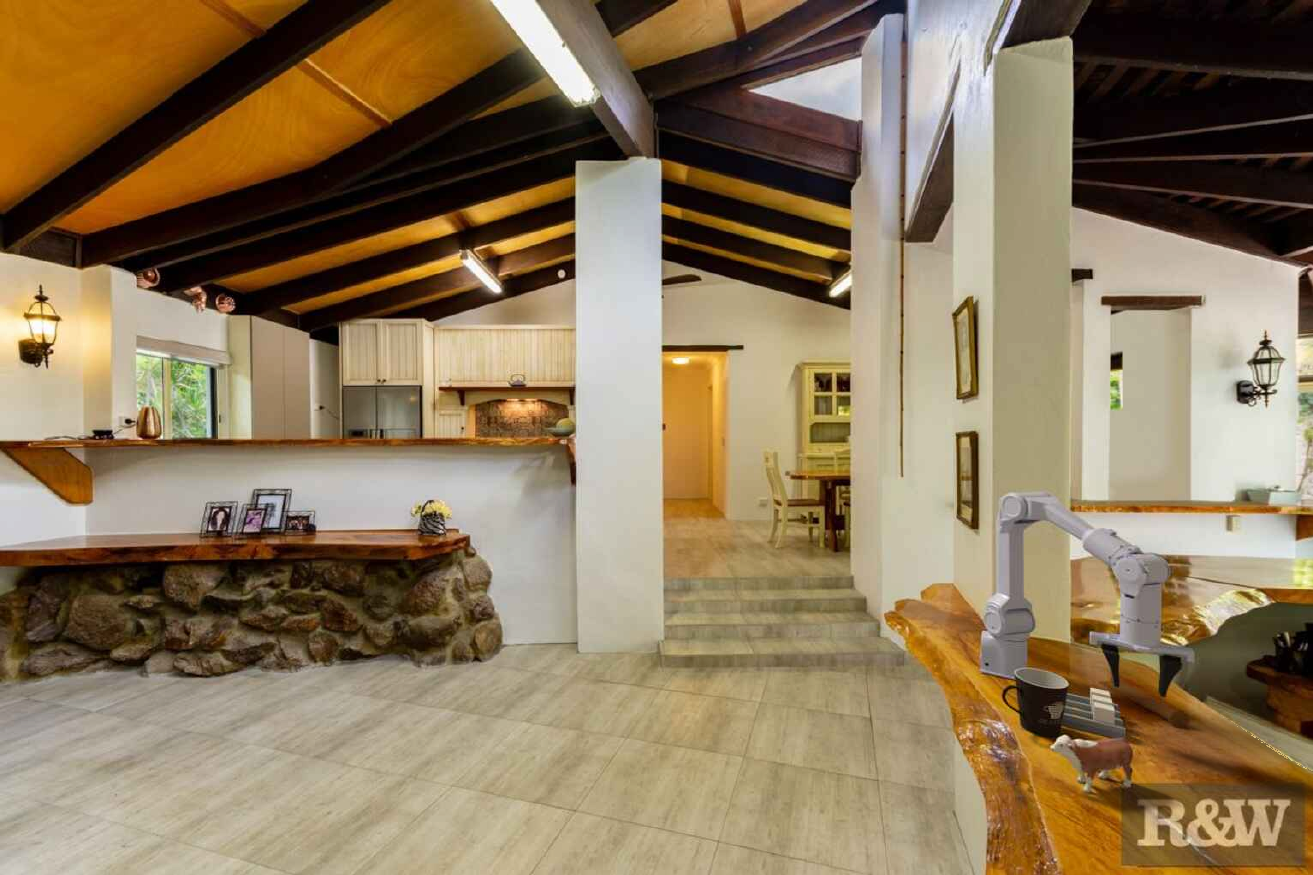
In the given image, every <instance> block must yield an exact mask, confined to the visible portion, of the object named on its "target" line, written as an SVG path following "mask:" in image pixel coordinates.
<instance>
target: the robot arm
mask: <svg viewBox="0 0 1313 875" xmlns="http://www.w3.org/2000/svg"><path fill="white" fill-rule="evenodd" d="M997 501H998V502H997V505H998V508H997V509H998V511H997V512H998V514H997V516H996V518H995V519H996V520H995V562H996V563H995V566H996V567H995V574H996V576H995V577H996V578H995V580H996V581H995V584H996V587H995V589H996V593H995V594H994V595H992V596H991V597H990V598H989V599H988V600H987V601H986V606H985V607H986V608H985V609H984V610H985V611H984V612H983V617H982V618H983V619H982V620H983V624H984V627H985V628H986V630H982V631H981V637H980V638H981V639H980V653H979V661H980V672H981V673H982V674H986V675H993V676H997V677H1000V678H1004V679H1005V678H1006V679H1008V680H1009V679H1010V680H1014V681H1015V674H1014V671H1015V670H1016V669H1019V668H1028V638H1030V636H1031V635H1030V634H1031V633H1032V632H1034V631H1035V629H1036V627H1037V620H1036V617H1035V614H1034V611H1033V604H1032V602H1030V601H1029V600H1028V599H1027V598H1026V597H1025V594H1024V593H1025V592H1024V591H1025V590H1024V585H1025V582H1024V581H1025V579H1024V576H1025V575H1024V574H1025V573H1024V572H1025V569H1024V565H1025V563H1024V560H1025V559H1024V557H1025V556H1024V531H1025V530H1026V529H1027V528H1029V527H1030V526H1032V525H1033V524H1034V523H1038V522H1041V521H1046V522H1047V521H1048V522H1050V523H1051V524H1053V525H1055V526H1057V527H1058V528H1060V529H1061V530H1063V531H1065V532H1066V533H1068V534H1069V535H1071V536H1073V537H1075V538H1076V539H1078V540H1079V541H1081V542H1082V548H1083V549H1084V551H1086V552H1088V554H1090V555H1092V556H1093V557H1095V558H1096V559H1097V560H1098V561H1100V562H1102V563H1103V564H1105V565H1106V566H1107V567H1109V568H1110V569H1111V570H1112V573H1113V575H1114V577H1115V578H1116V580H1117V581H1118V589H1119V591H1120V606H1119V608H1120V609H1119V610H1120V613H1119V634H1118V633H1105V632H1095V631H1089V644H1090V645H1093V646H1099V645H1100V648H1101V651H1102V654H1103V655H1104V657H1105V659H1106V661H1107V663H1108V666H1109V668H1110V671H1111V675H1112V681H1113V684H1114V687H1118V688H1119V684H1120V683H1119V680H1120V670H1119V669H1120V657H1121V656H1120V653H1119V649H1121V650H1128V651H1132V652H1137V653H1145V654H1149V655H1154V656H1155V655H1156V656H1158V657H1159V658H1158V661H1159V677H1158V686H1157V687H1158V694H1159V696H1160V698H1161V697H1162V698H1166V697H1167V693H1168V691H1169V688H1170V685H1171V683H1172V682H1173V680H1174V679H1175V677H1176V675H1178V673H1179V672H1180V671H1181V670H1182V668H1183V662H1182V660H1183V661H1184V660H1185V661H1186V662H1187V663H1192V664H1194V663H1195V651H1194V649H1193V648H1191V647H1185V646H1180V645H1175V644H1172V643H1169V642H1168V643H1167V642H1163V641H1161V640H1162V635H1161V634H1162V633H1161V632H1162V630H1161V629H1162V601H1163V600H1162V595H1163V594H1162V593H1163V592H1162V590H1163V588H1162V587H1163V586H1162V585H1163V584H1165V583H1166V582H1167V581H1168V580H1169V578H1170V576H1171V568H1170V565H1169V563H1168V562H1167V561H1166V560H1165V559H1164V558H1163V556H1161V555H1160V554H1158V553H1157V552H1151V551H1149V552H1148V551H1143V550H1141V547H1139V546H1137V545H1135V544H1134V545H1132V544H1131V543H1130V542H1128V541H1126V540H1125V539H1123V538H1122V537H1120V536H1118V531H1115V530H1114V529H1112V528H1108V529H1107V528H1104V527H1098V528H1095V527H1093V525H1091V524H1089V523H1088V522H1087V521H1085V520H1084V519H1083V518H1081V517H1080V516H1078V515H1077V514H1076V513H1074V512H1073V511H1071V510H1070V509H1069V508H1067V507H1066V506H1065V505H1063V504H1062V503H1061V501H1060V499H1059V498H1058V497H1055V496H1053V495H1052V494H1051V493H1049V492H1047V491H1044V490H1043V491H1037V492H1036V491H1035V492H1013V491H1012V492H1008V493H1005V495H1003V496H1002V497H1001V498H1000V499H998V500H997Z"/></svg>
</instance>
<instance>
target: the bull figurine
mask: <svg viewBox="0 0 1313 875" xmlns="http://www.w3.org/2000/svg"><path fill="white" fill-rule="evenodd" d="M1050 750H1051V752H1053V753H1055V754H1059V755H1061V756H1062V757H1063V758H1065V759H1068V760H1069V764H1071V766H1072V767H1073V768H1075V769H1076V771H1077V772H1078V773H1079V776H1078V777H1077V779H1076V781H1077V783H1078V784H1079V783H1080V784H1084V783H1085V782H1086V783H1085V784H1084V787H1083V788H1082V789H1081V790H1082V792H1084V793H1085V794H1088V795H1089V794H1091V791H1093V789H1092V785H1091V784H1092V783H1093V782H1094V778H1095V776H1096V774H1097V772H1098V771H1101V772H1099V774H1098V776H1097V777H1098V779H1101V780H1106V778H1107V777H1109V771H1116V770H1120V769H1121V767H1122V770H1123V771H1124V773H1125V779H1124V781H1123V783H1122V786H1123V787H1125V788H1127V789H1130V788H1131V785H1132V784H1133V783H1132V774H1133V772H1134V770H1133V769H1132V766H1131V764H1132V761H1133V757H1134V750H1133V748H1132V746H1131V745H1130V743H1129V741H1128V740H1127V739H1126V738H1125V739H1124V738H1118V739H1117V738H1102V739H1099V740H1098V739H1097V740H1088V739H1087V740H1085V739H1084V740H1083V739H1081V738H1077V739H1071V737H1069V735H1067V734H1063V735H1061V736H1059V737H1057V738H1056V741H1055V742H1054V743H1053V744H1051V745H1050ZM1085 773H1086V774H1087V775H1085Z"/></svg>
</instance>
